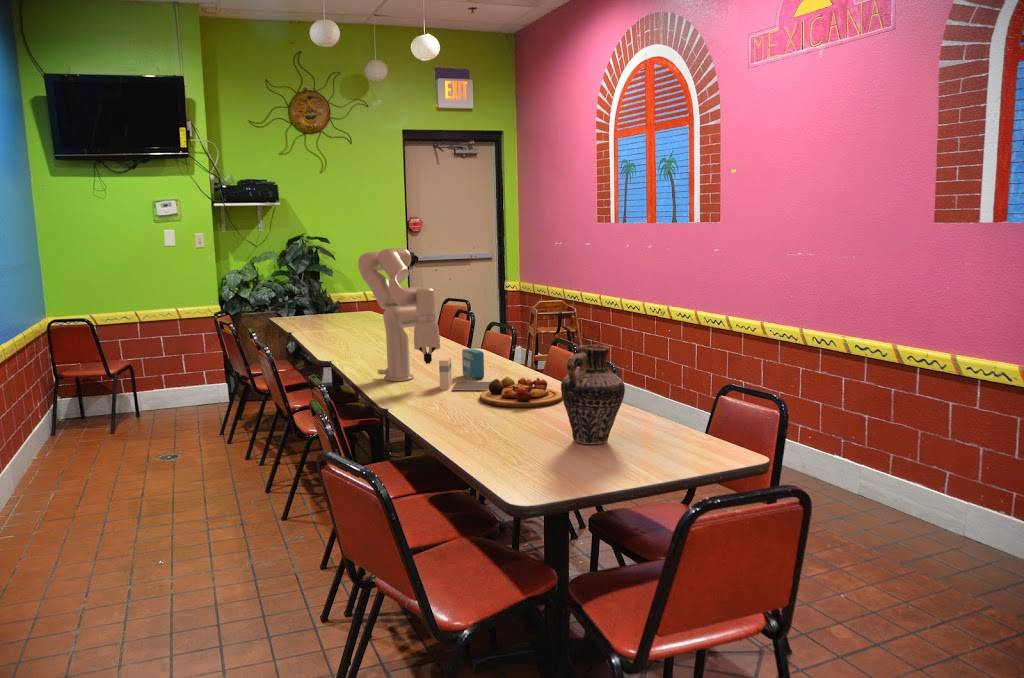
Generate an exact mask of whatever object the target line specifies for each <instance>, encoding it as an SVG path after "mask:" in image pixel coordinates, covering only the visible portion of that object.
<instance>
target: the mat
mask: <svg viewBox="0 0 1024 678" xmlns="http://www.w3.org/2000/svg"><path fill="white" fill-rule="evenodd" d="M491 382H492V381H456V382H455V384H454V385H453V387H452V388H451V392H484V391H487V390H489V385H490V383H491Z"/></svg>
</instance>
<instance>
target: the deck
mask: <svg viewBox="0 0 1024 678" xmlns="http://www.w3.org/2000/svg"><path fill="white" fill-rule="evenodd" d="M438 363H439V367H438V372H439V373H438V374H439V390H440V389H449V390H450V388H451V387H452V385H453V383H452V381H453V380H452V379H453V378H452V356H442V357H441V358H439V360H438ZM450 386H451V387H450Z"/></svg>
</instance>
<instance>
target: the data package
mask: <svg viewBox="0 0 1024 678" xmlns="http://www.w3.org/2000/svg"><path fill="white" fill-rule="evenodd" d="M461 353H462V354H461V357H462V358H461V360H462V362H461V363H462V365H461V366H462V374H463V375H462V376H463V377H466V378H468V377H469V379H471V378H472V379H471V380H481V378H482V379H483V378H484V377H485V358H484V357H485V354H484V351H483V350H480V349H477V348H473V347H472V348H464V349H462V351H461Z"/></svg>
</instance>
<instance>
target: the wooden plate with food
mask: <svg viewBox="0 0 1024 678" xmlns="http://www.w3.org/2000/svg"><path fill="white" fill-rule="evenodd" d="M490 382H491V383H490V385H489V390H487V391H481V392H480V395H479V400H480V401H481V402H483V403H485V404H487V405H491V406H496V407H502V408H503V407H504V408H521V409H522V408H538V407H547V406H551V405H552V406H553V405H556V404H559V403H560V402H563V398H562V392H560V391H558V390H556V389H551V388H548V382H547V381H546V380H545V379H540V378H539V377H537V378H536V380H535V379H534V380H531V378H530V379H526V378H525V377H521V378H518V381H517V383H516V382H515V381H514V379H513V378H511V377H509V376H506V377H504V378H503V379H502V380H500V379H498V378H495V379H493V380H492V381H490Z"/></svg>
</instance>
